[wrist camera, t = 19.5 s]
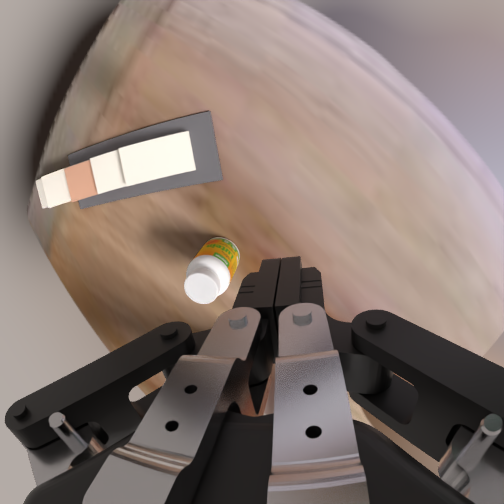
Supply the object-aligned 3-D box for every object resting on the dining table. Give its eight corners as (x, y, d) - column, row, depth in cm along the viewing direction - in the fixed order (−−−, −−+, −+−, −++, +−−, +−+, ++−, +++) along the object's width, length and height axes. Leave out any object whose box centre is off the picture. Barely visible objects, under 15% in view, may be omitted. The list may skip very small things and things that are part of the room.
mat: (210, 111, 35) (209, 111, 35) (223, 179, 38) (222, 179, 38) (69, 154, 40) (67, 155, 39) (82, 208, 43) (80, 209, 43)
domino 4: (153, 140, 36) (89, 158, 35) (160, 177, 37) (98, 194, 36) (154, 140, 37) (93, 157, 36) (162, 175, 39) (101, 192, 38)
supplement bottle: (244, 243, 41) (229, 276, 32) (234, 276, 44) (218, 315, 35) (207, 231, 41) (182, 260, 33) (199, 264, 44) (174, 300, 35)
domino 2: (91, 159, 38) (41, 176, 36) (98, 192, 39) (48, 208, 38) (94, 158, 39) (45, 175, 38) (101, 190, 41) (52, 206, 40)
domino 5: (188, 130, 35) (118, 148, 34) (195, 170, 36) (126, 186, 35) (188, 131, 36) (121, 148, 35) (195, 169, 38) (129, 185, 37)
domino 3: (120, 150, 37) (63, 169, 36) (127, 185, 38) (71, 202, 37) (123, 150, 38) (68, 168, 37) (130, 184, 40) (75, 200, 39)
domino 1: (67, 167, 38) (35, 180, 41) (74, 198, 40) (42, 208, 42) (74, 165, 40) (42, 178, 42) (81, 196, 42) (48, 205, 44)
